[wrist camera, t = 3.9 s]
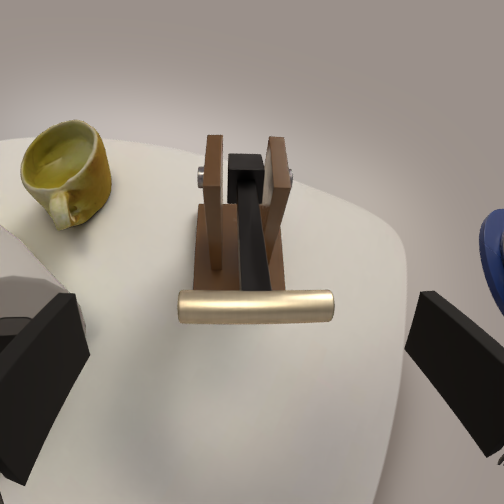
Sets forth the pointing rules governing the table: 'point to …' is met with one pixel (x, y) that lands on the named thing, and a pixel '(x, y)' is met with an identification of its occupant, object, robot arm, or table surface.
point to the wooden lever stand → (225, 220)
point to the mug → (68, 172)
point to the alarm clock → (22, 287)
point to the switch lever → (252, 267)
